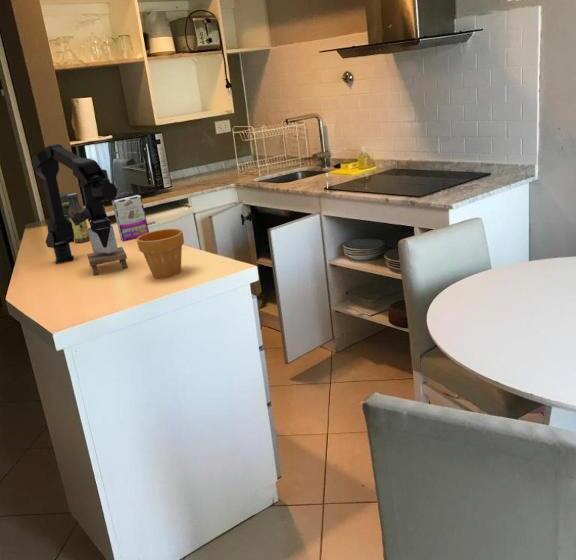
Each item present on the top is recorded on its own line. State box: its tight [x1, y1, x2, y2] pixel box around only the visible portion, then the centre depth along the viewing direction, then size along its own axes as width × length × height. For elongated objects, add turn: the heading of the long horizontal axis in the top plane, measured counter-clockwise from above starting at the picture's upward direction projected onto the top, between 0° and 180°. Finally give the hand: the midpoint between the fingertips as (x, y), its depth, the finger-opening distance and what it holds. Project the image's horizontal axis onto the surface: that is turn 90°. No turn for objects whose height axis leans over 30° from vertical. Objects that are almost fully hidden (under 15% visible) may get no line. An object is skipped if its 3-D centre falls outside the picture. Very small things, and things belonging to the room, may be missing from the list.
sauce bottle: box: [67, 193, 90, 244], centre depth 258 cm, size 6×6×20 cm
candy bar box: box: [111, 194, 150, 242], centre depth 253 cm, size 11×5×16 cm, turn 118°
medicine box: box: [88, 225, 119, 253], centre depth 212 cm, size 8×4×9 cm, turn 58°
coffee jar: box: [60, 192, 70, 221], centre depth 273 cm, size 10×8×19 cm
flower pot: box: [136, 228, 185, 279], centre depth 197 cm, size 14×14×13 cm
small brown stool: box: [86, 246, 128, 276], centre depth 214 cm, size 12×12×5 cm
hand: (103, 244), depth 213 cm, fingers closed on medicine box, 9 cm apart
